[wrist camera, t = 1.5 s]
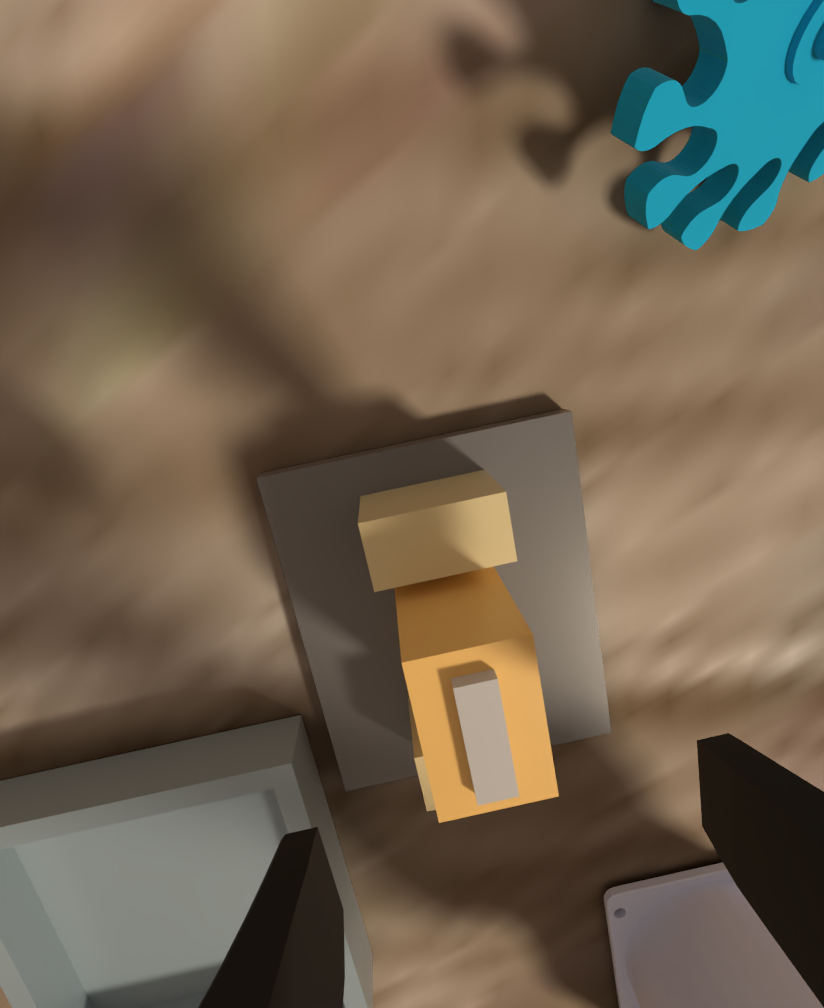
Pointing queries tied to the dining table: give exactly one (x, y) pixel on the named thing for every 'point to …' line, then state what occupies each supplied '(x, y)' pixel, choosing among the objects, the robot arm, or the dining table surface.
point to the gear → (728, 117)
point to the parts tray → (156, 868)
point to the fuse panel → (372, 615)
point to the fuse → (474, 694)
